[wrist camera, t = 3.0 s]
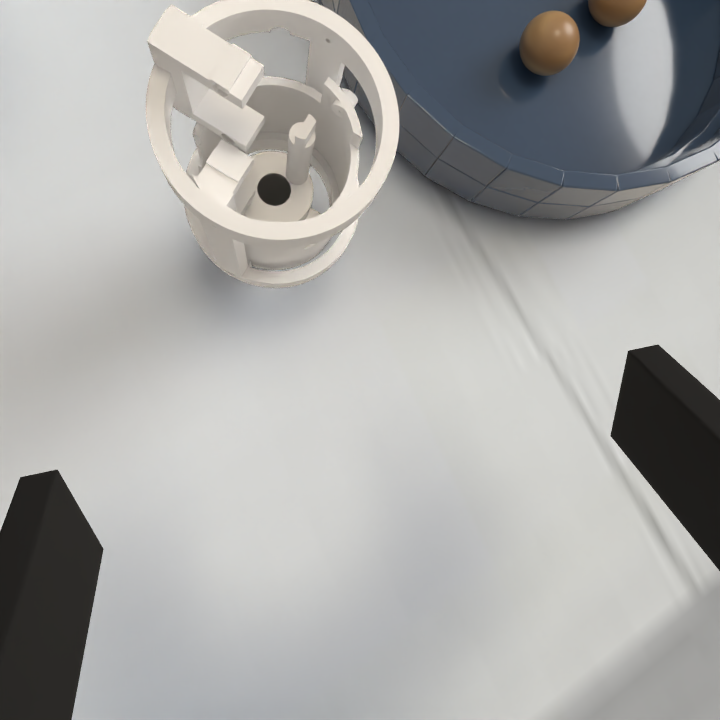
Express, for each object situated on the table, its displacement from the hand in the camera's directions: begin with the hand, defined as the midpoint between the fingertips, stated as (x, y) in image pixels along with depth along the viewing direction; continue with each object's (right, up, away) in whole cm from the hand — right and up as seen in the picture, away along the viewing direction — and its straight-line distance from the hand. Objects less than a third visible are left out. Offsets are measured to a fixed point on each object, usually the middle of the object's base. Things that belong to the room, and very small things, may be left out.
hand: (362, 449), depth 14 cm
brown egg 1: (+10, +19, +17) cm, 27 cm away
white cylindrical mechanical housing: (-5, +8, +17) cm, 19 cm away
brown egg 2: (+14, +22, +18) cm, 31 cm away
